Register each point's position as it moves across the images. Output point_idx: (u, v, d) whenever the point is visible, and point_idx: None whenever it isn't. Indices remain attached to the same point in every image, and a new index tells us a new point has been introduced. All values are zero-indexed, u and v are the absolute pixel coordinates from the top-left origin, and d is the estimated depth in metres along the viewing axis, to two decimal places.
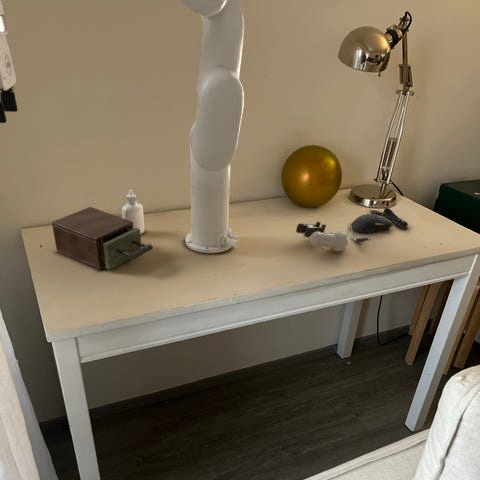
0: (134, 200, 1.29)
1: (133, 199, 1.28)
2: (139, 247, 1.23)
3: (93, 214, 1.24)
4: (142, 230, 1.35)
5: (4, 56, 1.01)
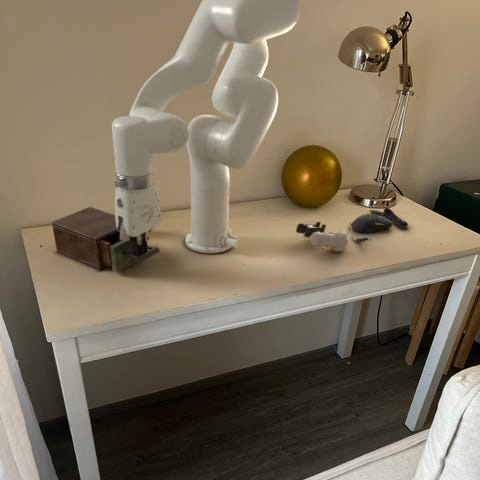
0: None
1: None
2: None
3: (93, 214, 1.24)
4: None
5: (141, 208, 1.07)
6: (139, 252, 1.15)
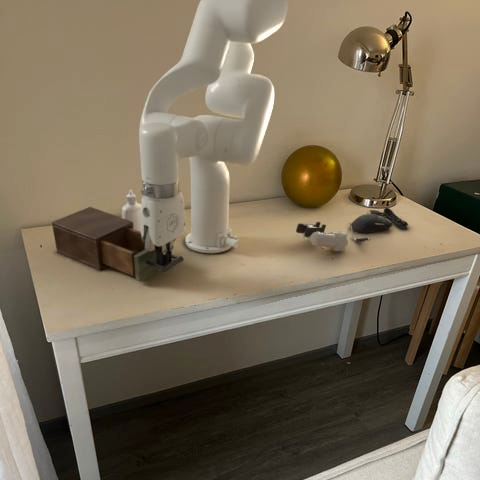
0: (134, 200, 1.29)
1: (133, 199, 1.28)
2: None
3: (93, 214, 1.24)
4: None
5: (168, 217, 1.04)
6: (163, 261, 1.12)
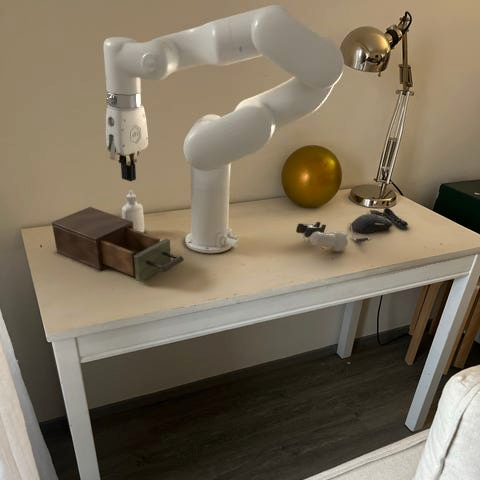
0: (134, 200, 1.29)
1: (133, 199, 1.28)
2: (169, 258, 1.19)
3: (93, 214, 1.24)
4: (142, 230, 1.35)
5: (131, 127, 1.15)
6: (128, 173, 1.23)
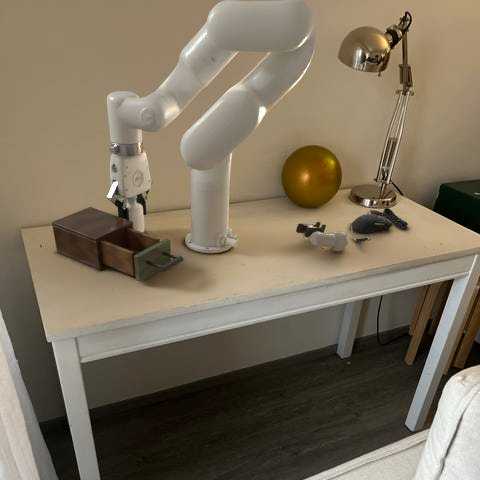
0: (134, 200, 1.29)
1: (133, 199, 1.28)
2: (169, 258, 1.19)
3: (93, 214, 1.24)
4: (142, 230, 1.35)
5: (133, 173, 1.23)
6: (124, 216, 1.28)
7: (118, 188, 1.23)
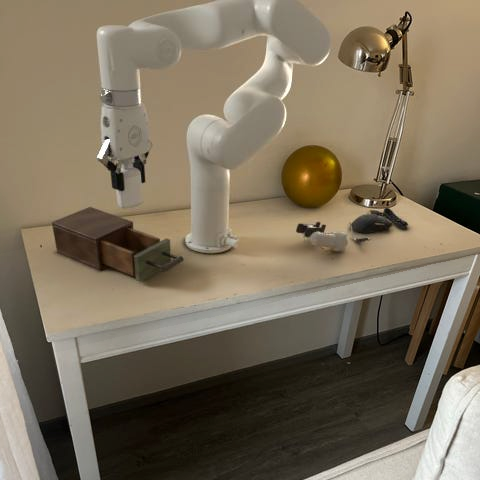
0: (130, 163, 1.07)
1: (129, 162, 1.07)
2: (169, 258, 1.19)
3: (93, 214, 1.24)
4: (140, 201, 1.13)
5: (129, 128, 1.01)
6: (118, 182, 1.07)
7: (111, 147, 1.01)
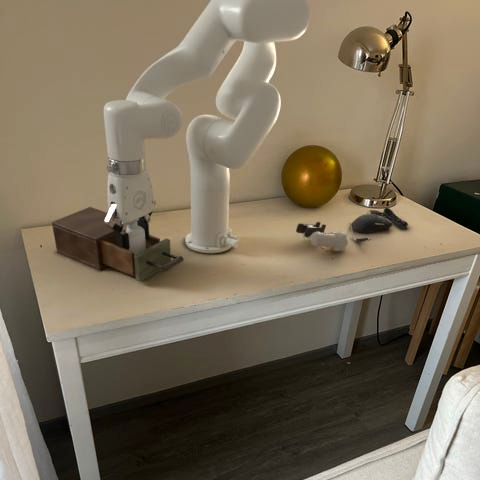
0: (135, 223, 1.13)
1: (134, 222, 1.12)
2: (169, 258, 1.19)
3: (93, 214, 1.24)
4: None
5: (134, 193, 1.07)
6: (123, 242, 1.12)
7: (117, 211, 1.07)
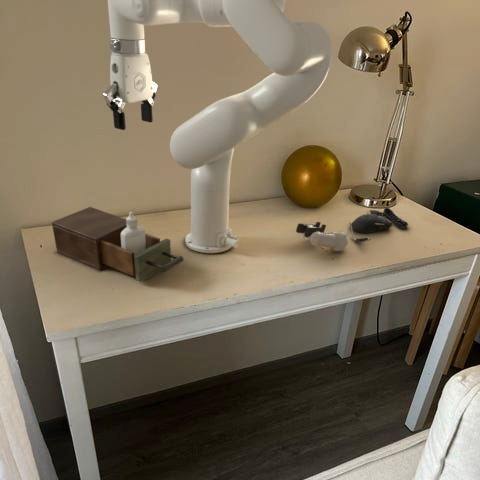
0: (135, 223, 1.13)
1: (134, 222, 1.12)
2: (169, 258, 1.19)
3: (93, 214, 1.24)
4: None
5: (135, 74, 1.16)
6: (120, 121, 1.20)
7: (119, 91, 1.16)
